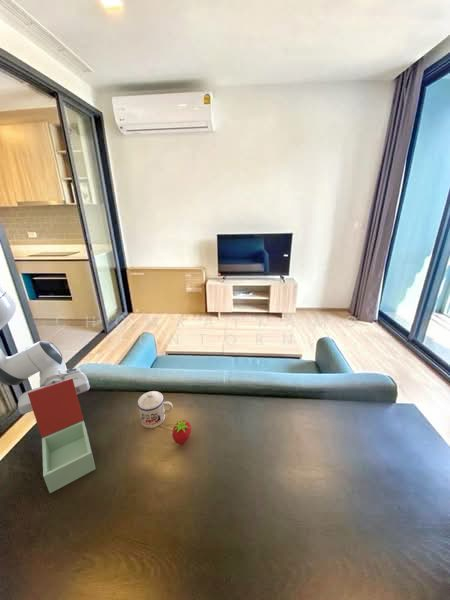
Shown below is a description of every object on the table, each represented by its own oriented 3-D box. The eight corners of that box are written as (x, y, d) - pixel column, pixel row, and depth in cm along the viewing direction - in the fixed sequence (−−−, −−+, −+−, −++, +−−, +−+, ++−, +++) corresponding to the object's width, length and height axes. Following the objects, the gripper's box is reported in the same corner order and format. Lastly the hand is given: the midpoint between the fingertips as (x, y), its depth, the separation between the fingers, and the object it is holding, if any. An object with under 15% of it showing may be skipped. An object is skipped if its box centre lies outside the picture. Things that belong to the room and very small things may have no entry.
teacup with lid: (138, 430, 88) (133, 404, 84) (143, 410, 96) (139, 386, 92) (172, 427, 89) (169, 401, 85) (174, 408, 97) (172, 383, 93)
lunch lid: (72, 378, 80) (72, 377, 80) (27, 393, 74) (27, 392, 74) (83, 419, 83) (83, 418, 84) (41, 437, 77) (41, 436, 77)
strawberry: (194, 434, 86) (192, 412, 82) (188, 454, 79) (186, 431, 75) (177, 432, 87) (175, 410, 83) (170, 452, 80) (168, 429, 76)
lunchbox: (95, 469, 75) (91, 452, 72) (49, 493, 69) (43, 476, 66) (87, 435, 86) (83, 420, 84) (47, 453, 80) (41, 438, 77)
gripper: (16, 387, 84) (13, 413, 73) (84, 366, 95) (90, 385, 84) (21, 402, 86) (19, 429, 75) (87, 379, 97) (93, 400, 87)
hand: (57, 406), depth 80 cm, fingers closed
